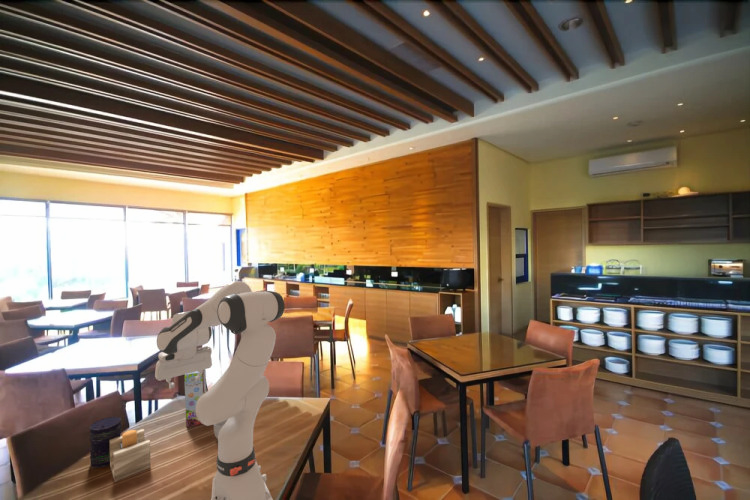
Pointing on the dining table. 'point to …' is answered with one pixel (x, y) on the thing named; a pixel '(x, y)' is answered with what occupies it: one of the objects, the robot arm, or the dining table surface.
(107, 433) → the storage jar
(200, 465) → the dining table surface
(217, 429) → the teacup
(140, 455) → the wooden napkin holder
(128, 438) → the brown egg
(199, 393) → the snack box
